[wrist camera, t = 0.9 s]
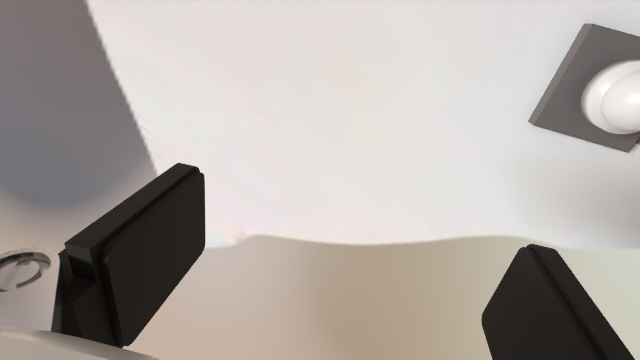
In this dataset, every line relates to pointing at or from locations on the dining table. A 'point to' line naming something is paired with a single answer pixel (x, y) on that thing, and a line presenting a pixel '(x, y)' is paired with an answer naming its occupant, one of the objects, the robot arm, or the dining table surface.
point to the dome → (614, 98)
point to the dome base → (573, 76)
